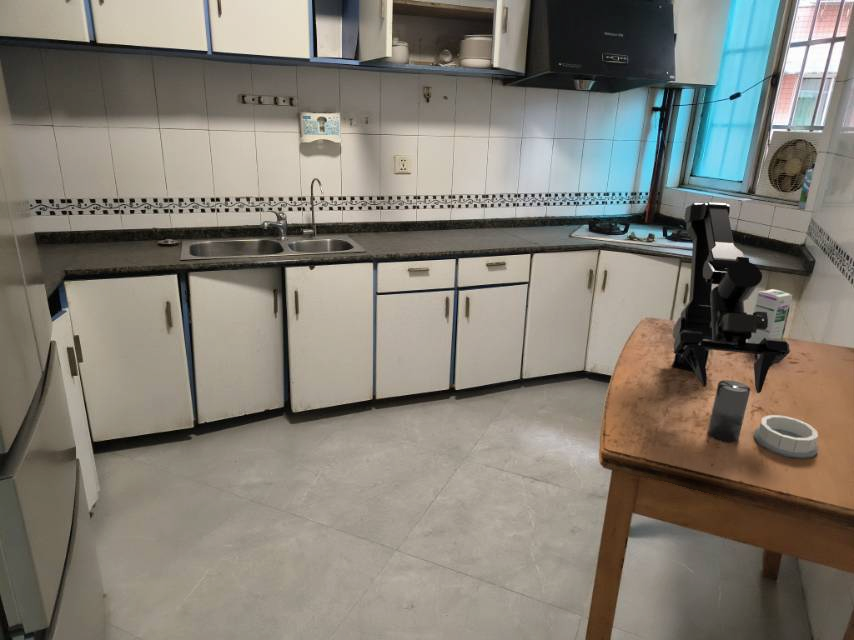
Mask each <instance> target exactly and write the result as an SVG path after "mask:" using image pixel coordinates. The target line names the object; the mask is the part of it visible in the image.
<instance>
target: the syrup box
mask: <svg viewBox="0 0 854 640" xmlns="http://www.w3.org/2000/svg"><path fill="white" fill-rule="evenodd" d="M755 299H756V300H755V305H754V309H753V313H754V312H757V311H759V312H767V317H768V327H767V329H765V330H756V333H751V334H752V337H751V338H750V339H747V341H746V343H755V344H759V343H760V342H761V341H762V340H763V339H764V338H775V339H784V335H785V332H786V326H787V323H788V318H789V312H790V309H791V304H792V300H793V294H792V293H789V292H786V291H783V290H779V289H775V288H771V289H767V290H762V291H761V290H759V291H758V292H757V295H756V298H755Z"/></svg>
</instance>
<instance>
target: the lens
mask: <svg viewBox="0 0 854 640" xmlns="http://www.w3.org/2000/svg"><path fill="white" fill-rule="evenodd" d="M750 393H751V388H750V387H749V386H747V385H746V384H745V383H742V382H739V381H736V380H727V379H726V380H724V379H723V380H720V381H719V382H718V384H717V388H716V393H715V397H714V402H713V407H712V411H711V416H710V419H709V424H708V425H709V426H708V429H707V433H708V435H709V437H711V438H713V439H715V440H717V441H720V442H722V443H723V442H724V443H736V442H738V441H739V439H740V434H741V431H742V426H743V422H744V418H745V414H746V409H747V406H748V402H749V397H750Z"/></svg>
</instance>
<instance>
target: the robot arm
mask: <svg viewBox="0 0 854 640" xmlns="http://www.w3.org/2000/svg"><path fill="white" fill-rule="evenodd" d="M730 207H731V206H730V204H728V203H726V202H716V201H715V202H713V201H708V202H692V203H691V204H690V205H689V206H686V208H685V210H684V211H685V212H684V222H685V223H686V233H687V234H688V236H689V238H690V239H691V240H692V250H691V251H692V252H691V268H690V280H689V281H690V284H689V285H690V286H689V298H688V299H689V300H688V302H687V303H686V305H685V307H684V308H683V309H682V311H681V313H680V316H679V318H678V319H677V321H675V322H676V323H675V324H674V326H673V330H672V337H673V339H674V342H673V353H674V354H675V355H674V360H673V362H672V366H671V367H673V368H678V369H683V370H687V371H692V372H694V373H695V376H696V377H697V379H698V381H699V382H700V384H701V386H702V388H706V387H707V385H708V384H707V383H708V377H707V375H708V374H707V368H706V367H707V364H708V360H709V355H710V350H711V351H712V350H713V351H723V352H732V353H739V354H740V353H741V354H743V353H744V354H752V355H754V359H755V361H754V363H753V371H754V372H753V373H754V386H755V390H756V393H757V394H760V393H761V392H762V390H763V387H764V384H765V381H766V378H767V375H768V372H769V370H770V368H771V367H773V366H774V365H776V364H779V363H780V362H781V361H783V359H785V357H787V356H788V355H789V354H790V344H789V343H788V342H787V340H785V339H784V338H783V339H775V338H764V339H763V340H762V341H761V342H760V343H759V344H755V343H747V340H748V339H750V338H751V337H752V334H751V333H756V330H765V329H767V327H768V317H767V312H759V311H757V312H754V311H753V313H752V314H748V313H747V312H745V305H744V304H745V303H744V302H745V301H746V300H748V299H749V298H750V297H751V295H752V293H754V291H755V290H756V289H757V287H758V286H759V285H760V283H761V281H762V280H763V273H762V271H761V270H760V268H759V267H758V266H757V265H755V264H754V263H752V262H750V257H748V256H745V255H744V252H743V251H741V250H740V249H738V248H737V247H736V246H735V241H734V238H733V230H732V227H731V221H730V211H731V208H730ZM713 285H716V286H715V287H714V288H712V287H713Z"/></svg>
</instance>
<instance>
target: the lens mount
mask: <svg viewBox="0 0 854 640" xmlns="http://www.w3.org/2000/svg"><path fill="white" fill-rule="evenodd" d="M753 437H754V438H753V439H754V441H756V443H757V444H759V445H760V446H761V447H762V448H763V449H766V450H768V451H769V452H772V453H774V454H777V455H781V456H784V457H788V458H793V459H811V458H814V457H815V456H816V455H817V453H818V450H819V445H818V444H817V441H818V437H819V435H818V430H817V429H815V428H814V427H813V426H812V425H810V424H809V423H806V422H805V421H802V420H800V419H798V418H794V417H791V416H786V415H778V414H776V415H775V414H772V415H771V414H770V415H769V414H768V415H766V416H763V417H761V419H760V424H759V426H758V427H757V428H756V429H755V431H754V435H753Z"/></svg>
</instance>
